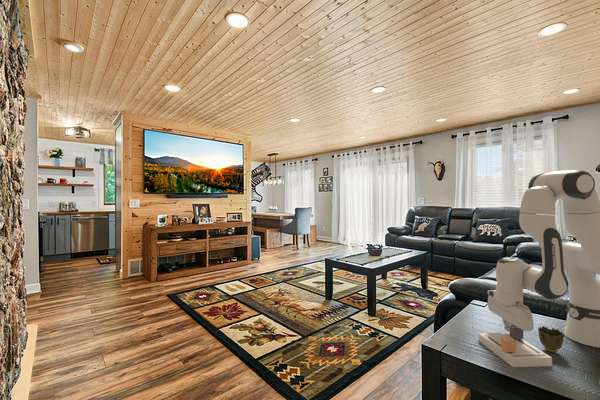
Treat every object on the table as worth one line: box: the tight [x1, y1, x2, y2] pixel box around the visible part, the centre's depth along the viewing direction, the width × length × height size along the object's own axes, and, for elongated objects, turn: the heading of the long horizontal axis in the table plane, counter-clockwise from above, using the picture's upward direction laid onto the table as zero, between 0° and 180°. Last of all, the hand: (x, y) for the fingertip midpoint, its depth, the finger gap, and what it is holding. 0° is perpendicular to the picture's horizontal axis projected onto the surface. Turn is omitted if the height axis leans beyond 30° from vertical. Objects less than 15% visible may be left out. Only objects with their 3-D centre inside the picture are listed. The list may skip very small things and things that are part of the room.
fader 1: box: [501, 338, 516, 352], centre depth 102 cm, size 4×2×4 cm, turn 91°
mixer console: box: [478, 332, 553, 368], centre depth 107 cm, size 14×18×3 cm
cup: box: [537, 325, 565, 354], centre depth 107 cm, size 8×7×8 cm
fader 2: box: [509, 326, 524, 340], centre depth 111 cm, size 4×2×4 cm, turn 92°
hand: (509, 331), depth 115 cm, fingers closed
